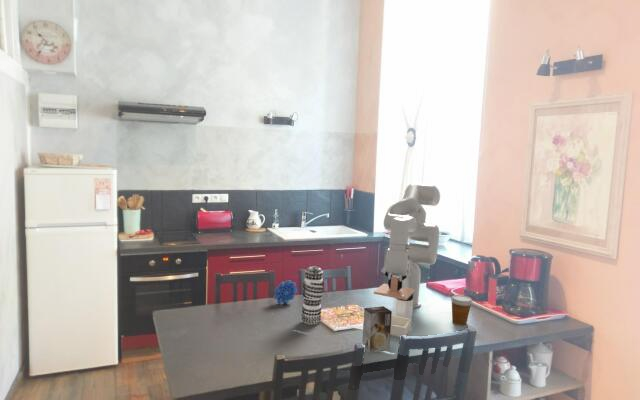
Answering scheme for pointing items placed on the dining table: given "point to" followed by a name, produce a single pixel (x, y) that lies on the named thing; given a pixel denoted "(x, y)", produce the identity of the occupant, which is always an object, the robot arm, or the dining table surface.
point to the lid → (394, 290)
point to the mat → (357, 327)
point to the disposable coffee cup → (460, 309)
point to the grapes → (285, 292)
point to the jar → (403, 307)
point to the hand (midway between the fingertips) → (394, 288)
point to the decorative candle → (312, 295)
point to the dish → (400, 326)
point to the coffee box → (376, 329)
